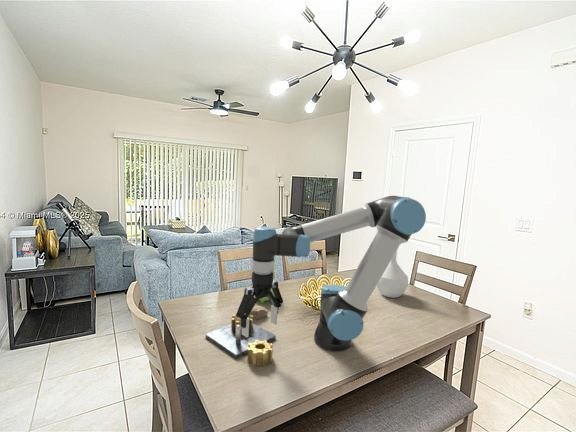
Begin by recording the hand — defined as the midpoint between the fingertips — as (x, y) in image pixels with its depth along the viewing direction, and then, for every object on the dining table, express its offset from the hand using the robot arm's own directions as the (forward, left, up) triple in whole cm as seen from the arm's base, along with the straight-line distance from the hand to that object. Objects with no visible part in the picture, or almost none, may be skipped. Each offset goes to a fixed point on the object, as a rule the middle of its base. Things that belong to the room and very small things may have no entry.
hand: (259, 329), depth 108 cm
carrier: (+16, -4, -12) cm, 20 cm away
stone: (+27, -22, -12) cm, 37 cm away
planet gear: (0, 0, -12) cm, 12 cm away
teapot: (+39, -39, -12) cm, 56 cm away
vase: (-5, -98, -12) cm, 99 cm away
